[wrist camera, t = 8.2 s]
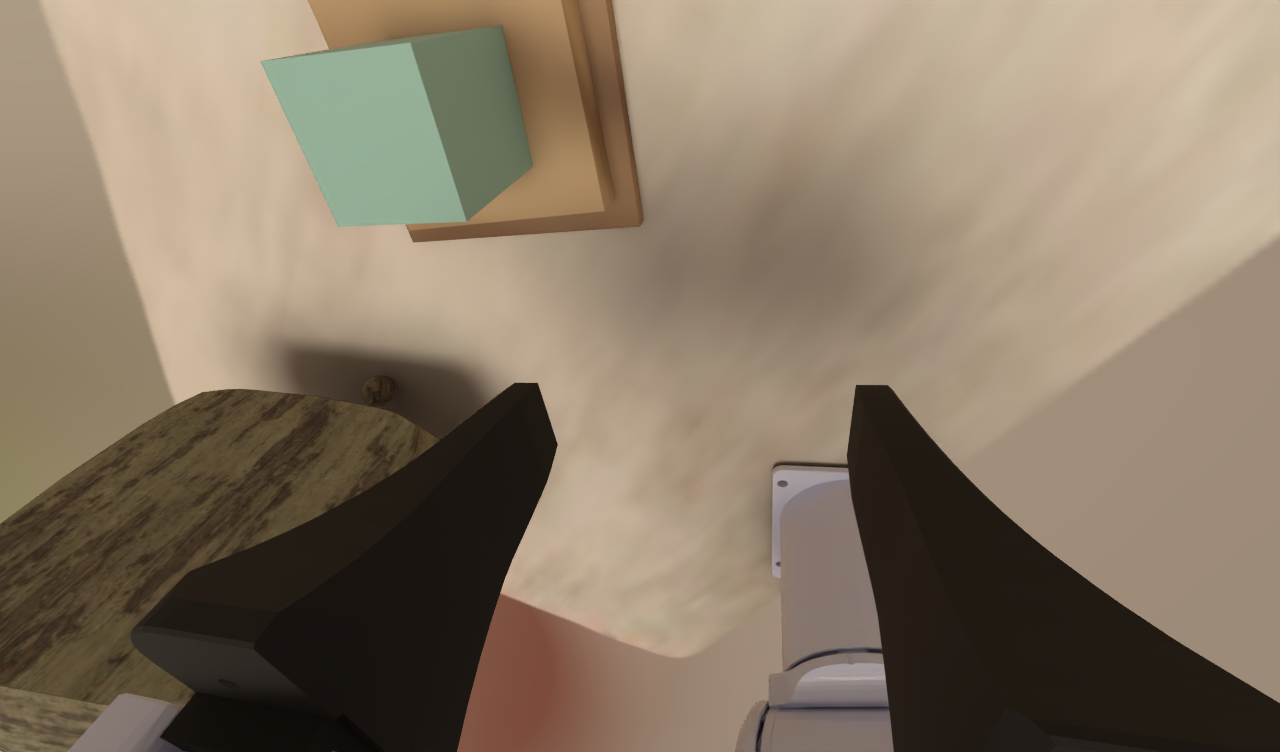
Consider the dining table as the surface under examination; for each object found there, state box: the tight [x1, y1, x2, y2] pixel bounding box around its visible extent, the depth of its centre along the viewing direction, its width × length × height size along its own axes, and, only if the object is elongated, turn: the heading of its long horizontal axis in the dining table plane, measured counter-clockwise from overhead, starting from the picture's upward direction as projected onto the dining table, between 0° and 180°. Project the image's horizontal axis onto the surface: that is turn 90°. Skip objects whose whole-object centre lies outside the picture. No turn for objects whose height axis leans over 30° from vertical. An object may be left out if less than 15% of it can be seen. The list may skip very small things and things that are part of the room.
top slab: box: [308, 0, 615, 231], centre depth 17 cm, size 8×8×2 cm
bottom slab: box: [406, 0, 643, 242], centre depth 19 cm, size 10×10×2 cm
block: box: [260, 25, 533, 227], centre depth 15 cm, size 4×4×5 cm
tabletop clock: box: [0, 376, 440, 752], centre depth 20 cm, size 14×9×25 cm, turn 90°
